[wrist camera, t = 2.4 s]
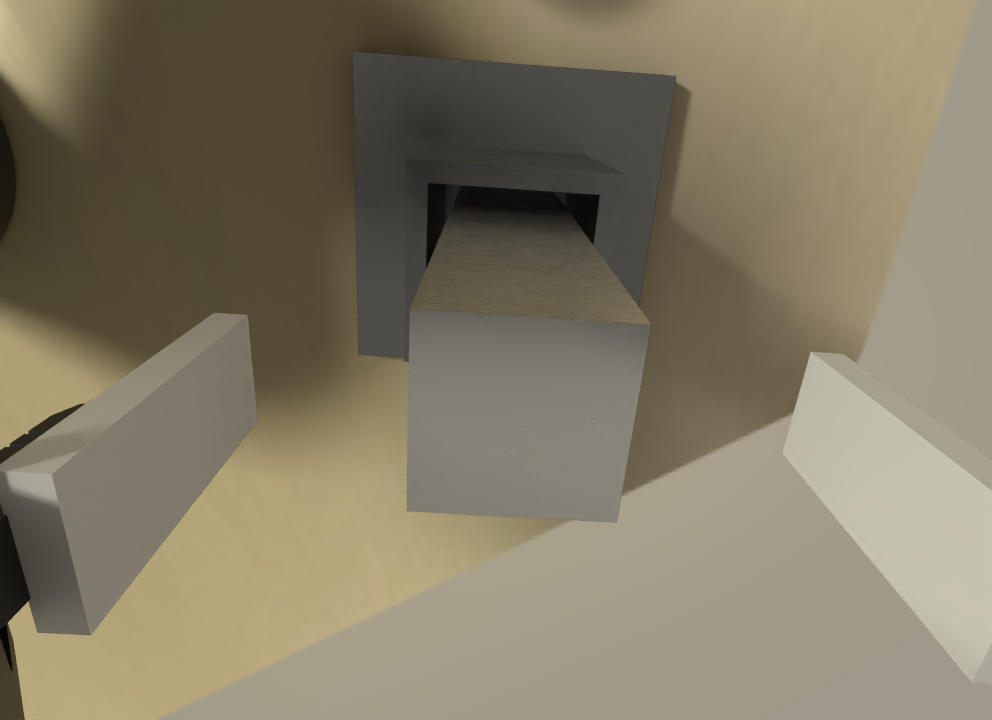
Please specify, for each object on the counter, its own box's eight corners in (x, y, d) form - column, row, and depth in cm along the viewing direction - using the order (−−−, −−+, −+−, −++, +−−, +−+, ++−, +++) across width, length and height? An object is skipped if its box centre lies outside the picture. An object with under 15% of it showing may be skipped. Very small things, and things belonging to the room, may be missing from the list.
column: (458, 277, 34) (406, 533, 13) (463, 180, 32) (410, 309, 11) (541, 283, 34) (612, 544, 14) (550, 186, 32) (651, 324, 12)
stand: (362, 347, 37) (311, 440, 27) (357, 53, 31) (288, 25, 20) (623, 363, 37) (673, 460, 27) (669, 77, 31) (756, 61, 21)
